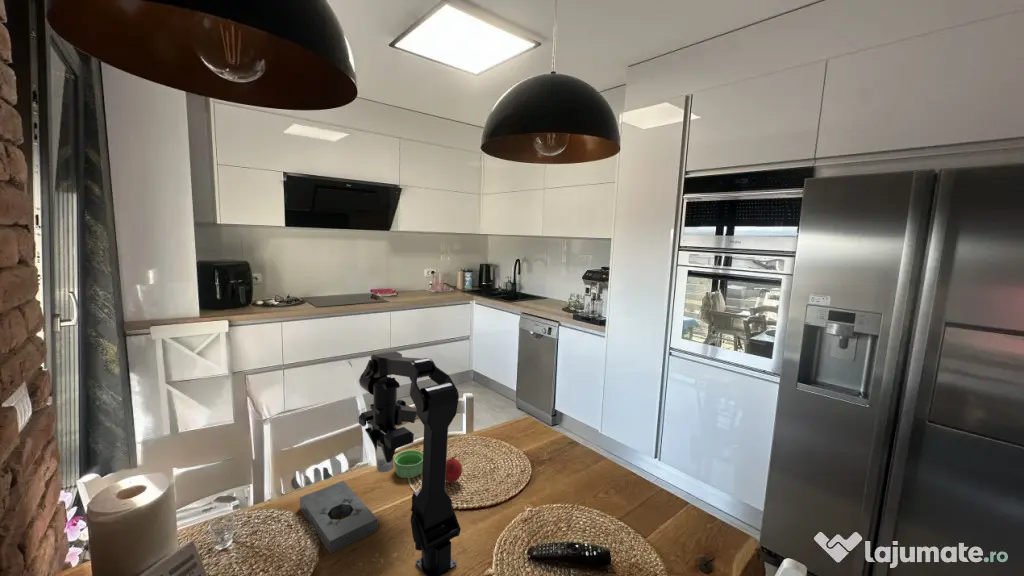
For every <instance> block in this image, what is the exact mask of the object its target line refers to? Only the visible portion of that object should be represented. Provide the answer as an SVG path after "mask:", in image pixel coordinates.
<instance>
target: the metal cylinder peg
mask: <svg viewBox="0 0 1024 576" xmlns="http://www.w3.org/2000/svg"><path fill="white" fill-rule="evenodd" d="M384 436H385V435H383V436H380V437H378V438H377V451H376V471H377V472H379V473H389V472H390V471H392V470H393V469H394V457H393V458H392V461H391V462H389V463H387V462H386V459H385V457H384V454H383V451H382V448H381V445H380V443H379V441H381V440H384Z"/></svg>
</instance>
